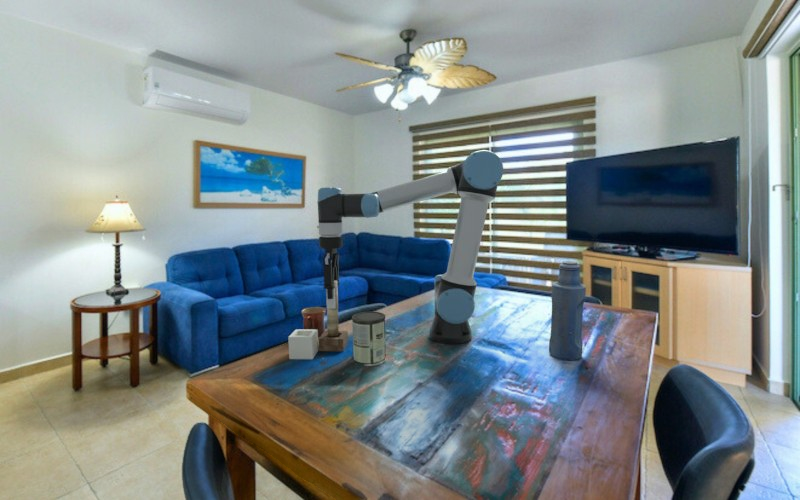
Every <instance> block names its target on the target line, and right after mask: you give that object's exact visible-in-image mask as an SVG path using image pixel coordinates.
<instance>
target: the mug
mask: <svg viewBox="0 0 800 500" xmlns="http://www.w3.org/2000/svg"><path fill="white" fill-rule="evenodd" d="M326 313H327V308H326V307H321V306H311V307H306V308H303V309H302V310H301V315H302V317H303V320H302V326H303V329H316V330H318V338H320V337H321V335H322V334H323V333H324V331H326V329H325V328H326V327H325V315H326Z"/></svg>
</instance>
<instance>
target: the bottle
mask: <svg viewBox="0 0 800 500" xmlns="http://www.w3.org/2000/svg"><path fill="white" fill-rule="evenodd" d="M558 270H559V271H558V275H557V276H558V277H557V281H555V282H553V283H552V285H551V317H550V318H551V323H550V338H549V341H548V352H549V354H550V356H552V357H554V358H557V359H558V360H564V361H577V360H580V359H582V357H583V336H582V335H583V334H582V333H583V318H584V316H583V314H584V304H585V301H586V294H587V286H586V285H585V284H583V283H581V275H580V274H581V265H579V264H578V262H576V261H571V260H570V261H569V260H565V261H562V263H559V267H558Z"/></svg>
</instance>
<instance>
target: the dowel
mask: <svg viewBox="0 0 800 500" xmlns="http://www.w3.org/2000/svg"><path fill="white" fill-rule="evenodd" d="M337 286H338V285H337V281H336V280H334V288H335V309H331V308H327V307H326V323H327V324H326V325H327V330H326V331H328V336H337V335H338V334H339V331H340V330H339V289H338V290H337Z"/></svg>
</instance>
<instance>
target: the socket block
mask: <svg viewBox="0 0 800 500" xmlns="http://www.w3.org/2000/svg"><path fill="white" fill-rule="evenodd" d="M338 331H339V334H338V335H337V336H328V330H325V331H324V333H323V334H322V335H321V337H318V352H345V349H346V347H347V345H348V343H349V331H347V330H342V331H341V330H338Z"/></svg>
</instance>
